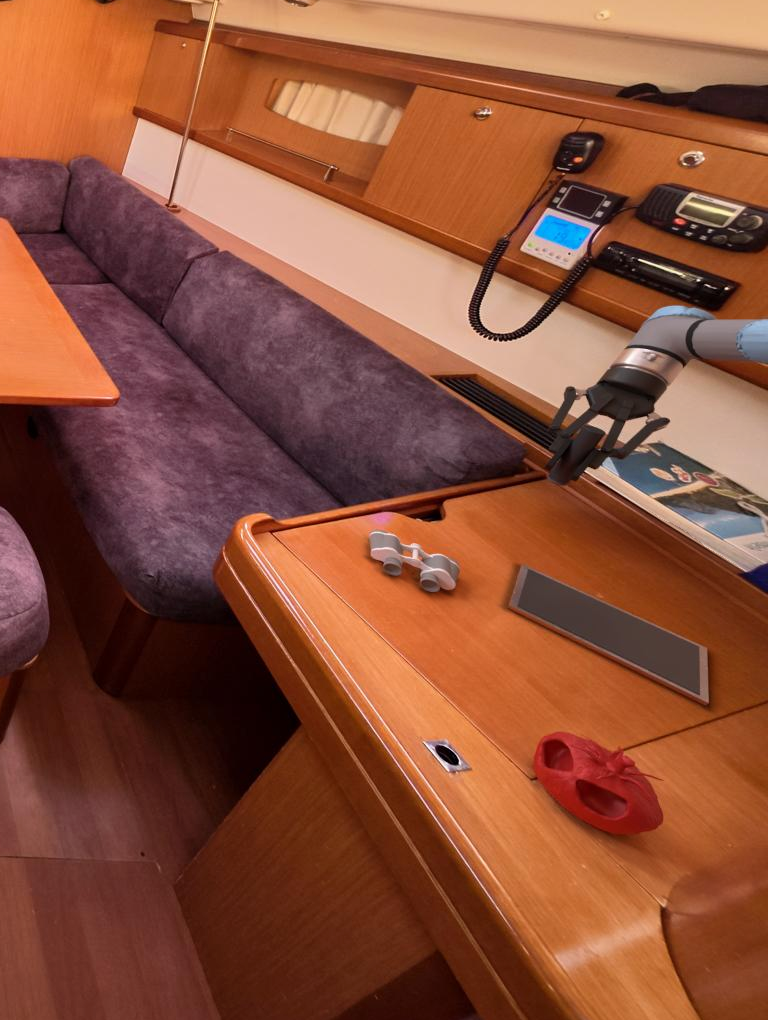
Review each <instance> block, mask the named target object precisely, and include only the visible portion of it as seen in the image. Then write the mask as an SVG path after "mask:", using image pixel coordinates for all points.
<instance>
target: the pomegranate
mask: <svg viewBox="0 0 768 1020" xmlns="http://www.w3.org/2000/svg"><path fill="white" fill-rule="evenodd" d="M581 736H582V737H581ZM532 769H533V772H534V774H535V777H536V779H537V780H538V782H539V784H540V785H541V786H542V787H543V788H544V789H545V790H546V791H547V793H548V794H550V796H551V797H552V798H554V799H555V800H556V801H557V802H558V803H559V804H560V805H561V806H562V807H563V808H564V809H565V810H567V811H568V812H570V814H572V815H573V816H574V817H576V818H577V819H579V820H580V821H582V822H584V823H586V824H588V825H590V826H592V827H594V828H596V829H598V830H601V831H603V832H606V833H609V834H613V835H639V834H642V833H648V832H652V831H654V830H655V831H656V830H657V829H658V828H659V826H661V825H662V824H663V822H664V812H663V809H662V807H661V805H660V802H659V798H658V796H657V793H656V792H655V789H654V787H653V785H652V783H651V782H650V781H649V779H648V778H647V777H649V778H652V779H655V780H658V781H662V782H663V781H665V779H662V778H658V777H656V776H654V775H652V774H649V773H644V772H641V770H639V768H638V767H637V766H636V761H635V760H633V759H632V758H630V757H629V756H628V755H624V750H623V749H622V748H621V746H620V745H618V747H617V750H615V751H612V750H611V749H610V750H609V749H608V748H606V747H604V746H602V745H600V744H599V743H597V742H596V741H595V740H593V739H592V738H590V737H588V736H586V735H584V734H582V733H580V736H578V735H577V734H574V733H571V732H566V731H556V732H551V733H549V734H546V735H544V736H542V737H541V739H540V740H539V742H538V744H537V745H536V748H535V752H534V756H533V763H532Z"/></svg>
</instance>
